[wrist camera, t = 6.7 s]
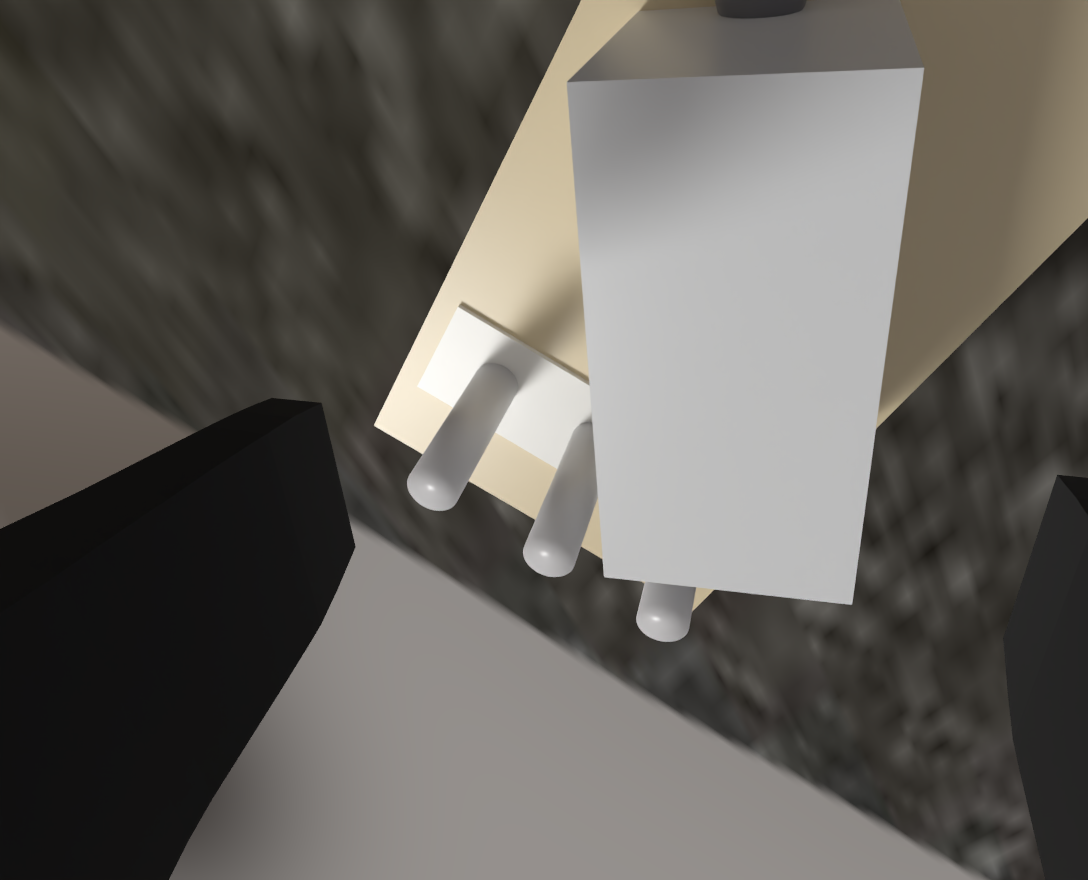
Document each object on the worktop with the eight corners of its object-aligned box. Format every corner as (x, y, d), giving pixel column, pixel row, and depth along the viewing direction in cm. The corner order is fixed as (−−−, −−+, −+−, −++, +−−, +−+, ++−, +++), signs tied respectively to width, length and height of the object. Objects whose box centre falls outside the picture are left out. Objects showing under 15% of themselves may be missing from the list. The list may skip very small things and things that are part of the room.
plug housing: (963, -580, 10) (1044, -830, 6) (847, 437, 18) (851, 610, 14) (622, -504, 11) (509, -679, 7) (652, 424, 19) (604, 582, 15)
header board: (1298, -32, 13) (1503, 34, 9) (697, 583, 23) (668, 745, 19) (781, -388, 12) (756, -488, 8) (390, 403, 22) (293, 532, 18)
